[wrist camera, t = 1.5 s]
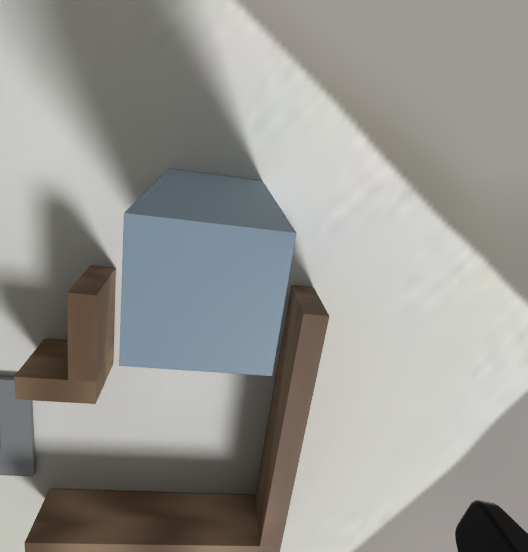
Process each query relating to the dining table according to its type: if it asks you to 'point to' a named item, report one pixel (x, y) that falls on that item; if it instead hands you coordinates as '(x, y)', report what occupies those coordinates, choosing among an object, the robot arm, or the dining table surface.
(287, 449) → the brown angular open frame
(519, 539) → the robot arm
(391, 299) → the dining table surface
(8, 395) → the grey mat
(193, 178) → the slate block
